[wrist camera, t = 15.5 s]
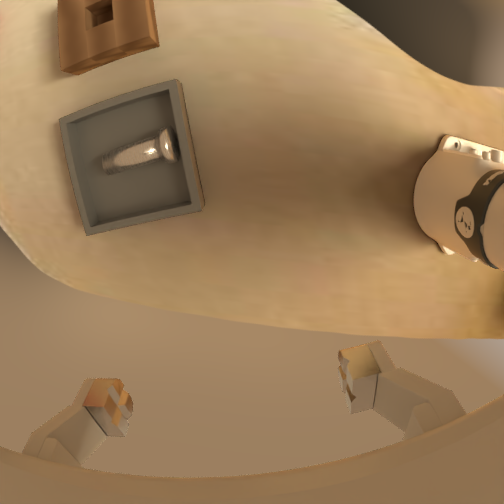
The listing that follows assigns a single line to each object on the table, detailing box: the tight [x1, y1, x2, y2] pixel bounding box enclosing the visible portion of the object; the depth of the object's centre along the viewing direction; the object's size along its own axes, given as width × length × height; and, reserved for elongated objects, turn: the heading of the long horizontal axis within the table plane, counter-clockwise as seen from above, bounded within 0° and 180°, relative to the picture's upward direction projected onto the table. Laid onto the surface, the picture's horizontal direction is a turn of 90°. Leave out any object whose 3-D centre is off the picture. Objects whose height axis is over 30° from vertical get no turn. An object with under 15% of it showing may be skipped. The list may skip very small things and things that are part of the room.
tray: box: [59, 79, 205, 236], centre depth 35 cm, size 16×16×4 cm
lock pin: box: [102, 126, 180, 176], centre depth 34 cm, size 4×4×9 cm
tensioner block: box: [58, 0, 159, 75], centre depth 27 cm, size 12×12×5 cm
